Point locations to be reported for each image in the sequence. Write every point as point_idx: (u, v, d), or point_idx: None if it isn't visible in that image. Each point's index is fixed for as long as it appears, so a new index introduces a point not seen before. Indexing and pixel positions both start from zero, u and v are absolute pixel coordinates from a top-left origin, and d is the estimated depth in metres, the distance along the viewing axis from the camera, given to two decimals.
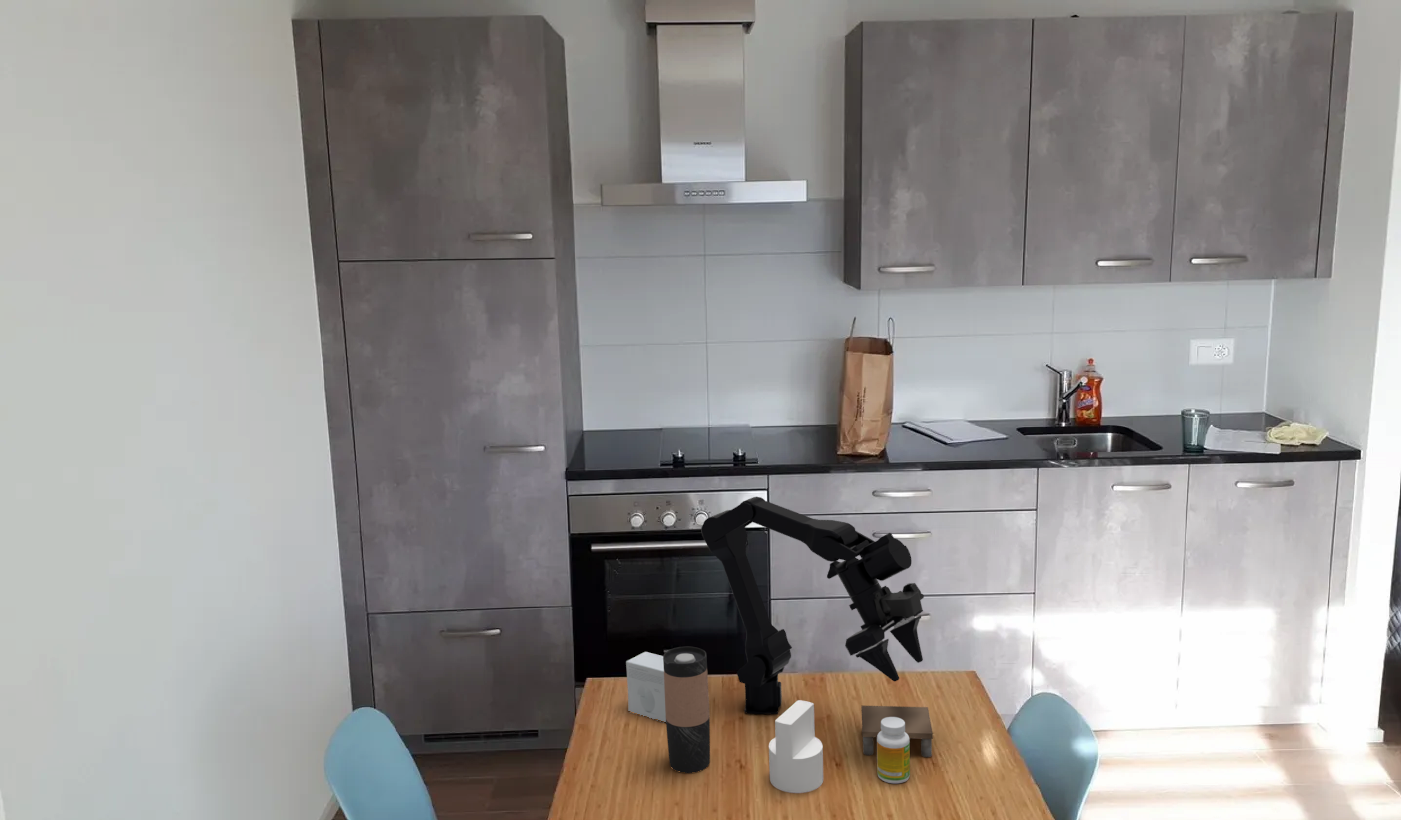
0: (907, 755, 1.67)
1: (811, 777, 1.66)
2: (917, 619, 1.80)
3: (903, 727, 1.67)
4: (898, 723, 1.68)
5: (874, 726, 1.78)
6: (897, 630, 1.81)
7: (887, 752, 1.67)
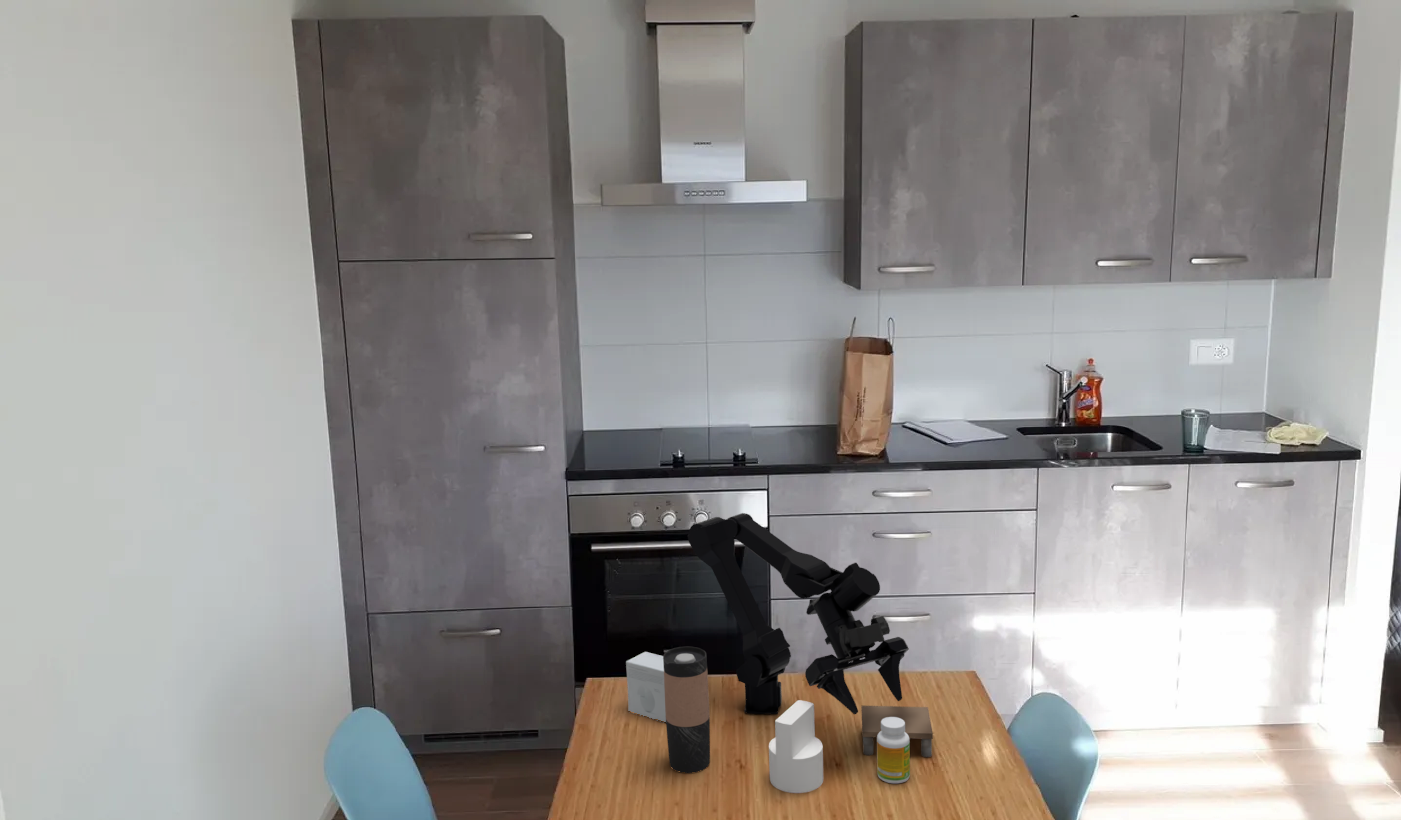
0: (907, 755, 1.67)
1: (811, 777, 1.66)
2: (896, 655, 1.75)
3: (903, 727, 1.67)
4: (898, 723, 1.68)
5: (874, 726, 1.78)
6: (882, 668, 1.78)
7: (887, 752, 1.67)
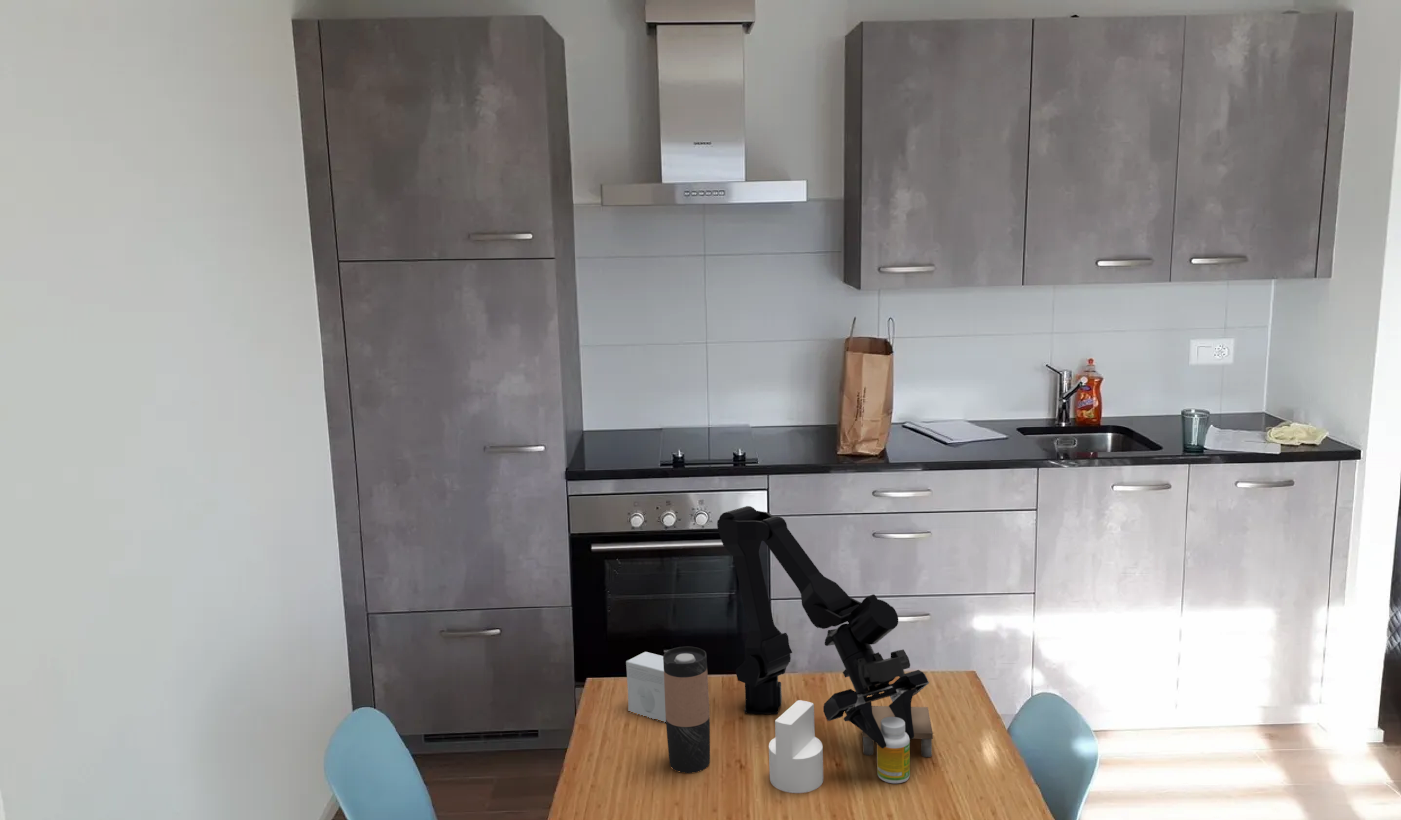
0: (907, 755, 1.67)
1: (811, 777, 1.66)
2: (908, 692, 1.71)
3: (903, 727, 1.67)
4: (898, 723, 1.68)
5: None
6: (893, 704, 1.73)
7: (887, 752, 1.67)
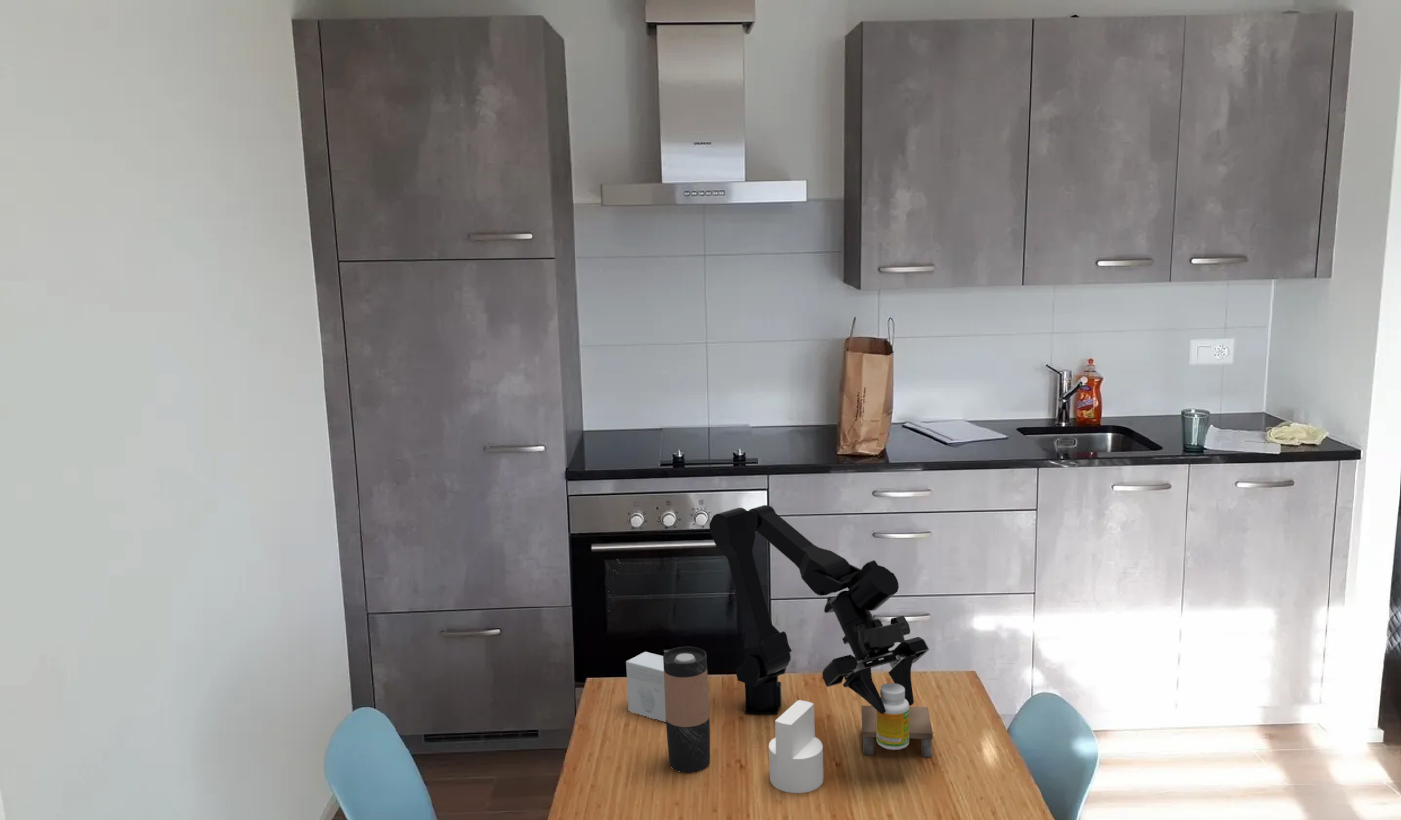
0: (906, 721, 1.66)
1: (811, 777, 1.66)
2: (908, 658, 1.70)
3: (903, 693, 1.66)
4: (898, 689, 1.67)
5: (874, 726, 1.78)
6: (893, 671, 1.72)
7: (886, 718, 1.66)
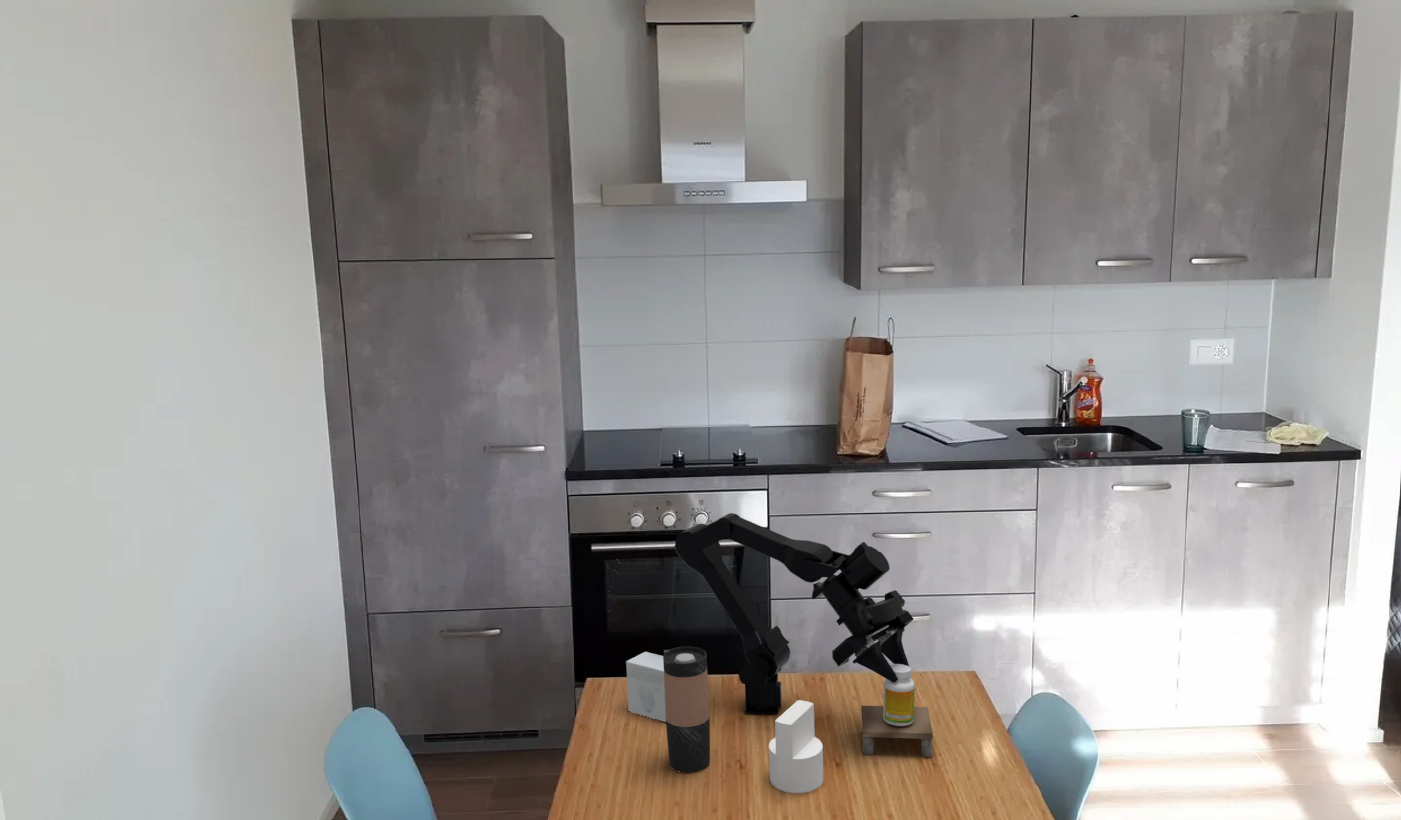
0: None
1: (811, 777, 1.66)
2: (899, 631, 1.81)
3: (910, 671, 1.77)
4: (905, 668, 1.78)
5: (874, 726, 1.78)
6: (883, 646, 1.83)
7: (897, 696, 1.76)
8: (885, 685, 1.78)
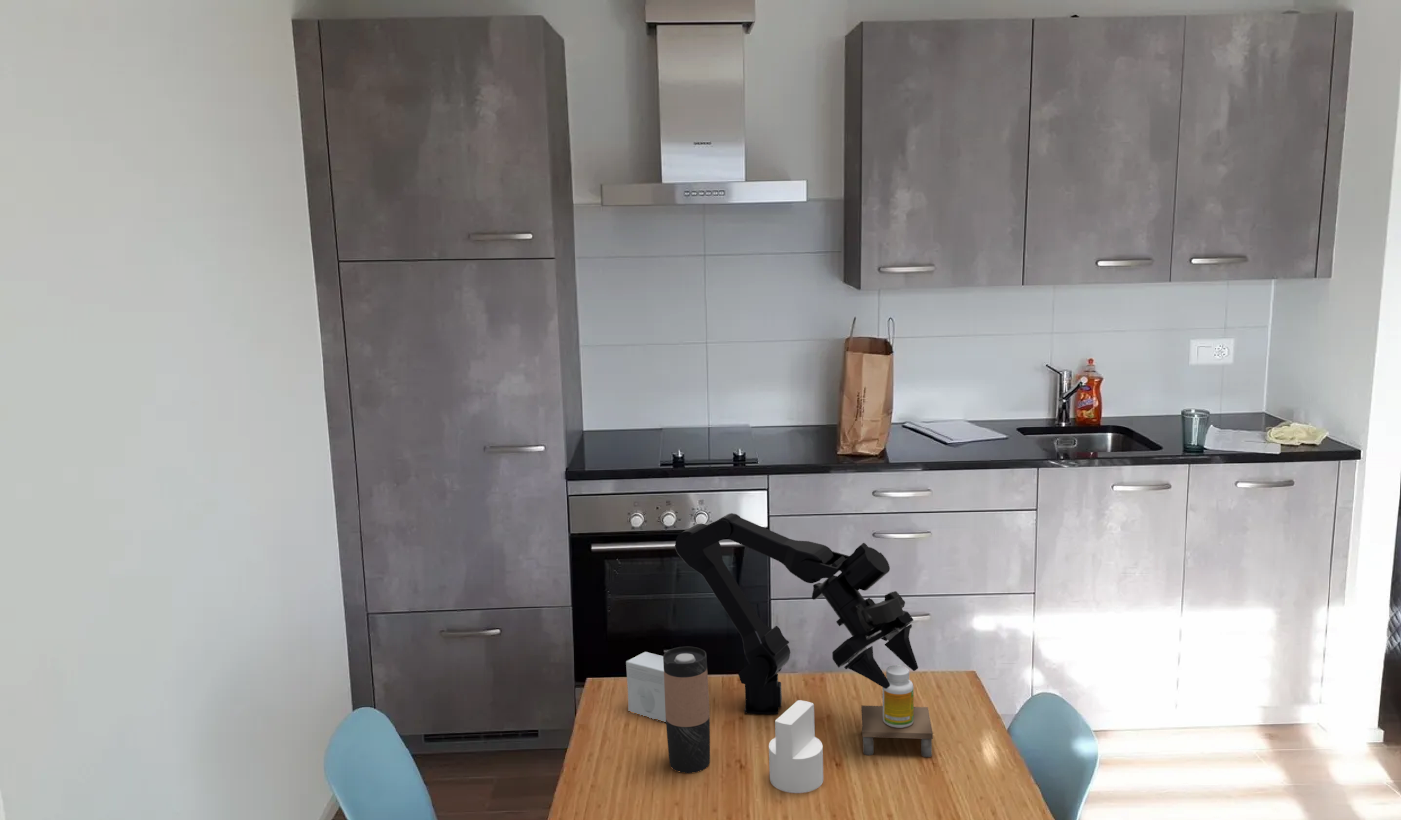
0: None
1: (811, 777, 1.66)
2: (907, 628, 1.83)
3: (908, 673, 1.77)
4: (903, 670, 1.77)
5: (874, 726, 1.78)
6: (891, 642, 1.84)
7: (896, 699, 1.76)
8: None
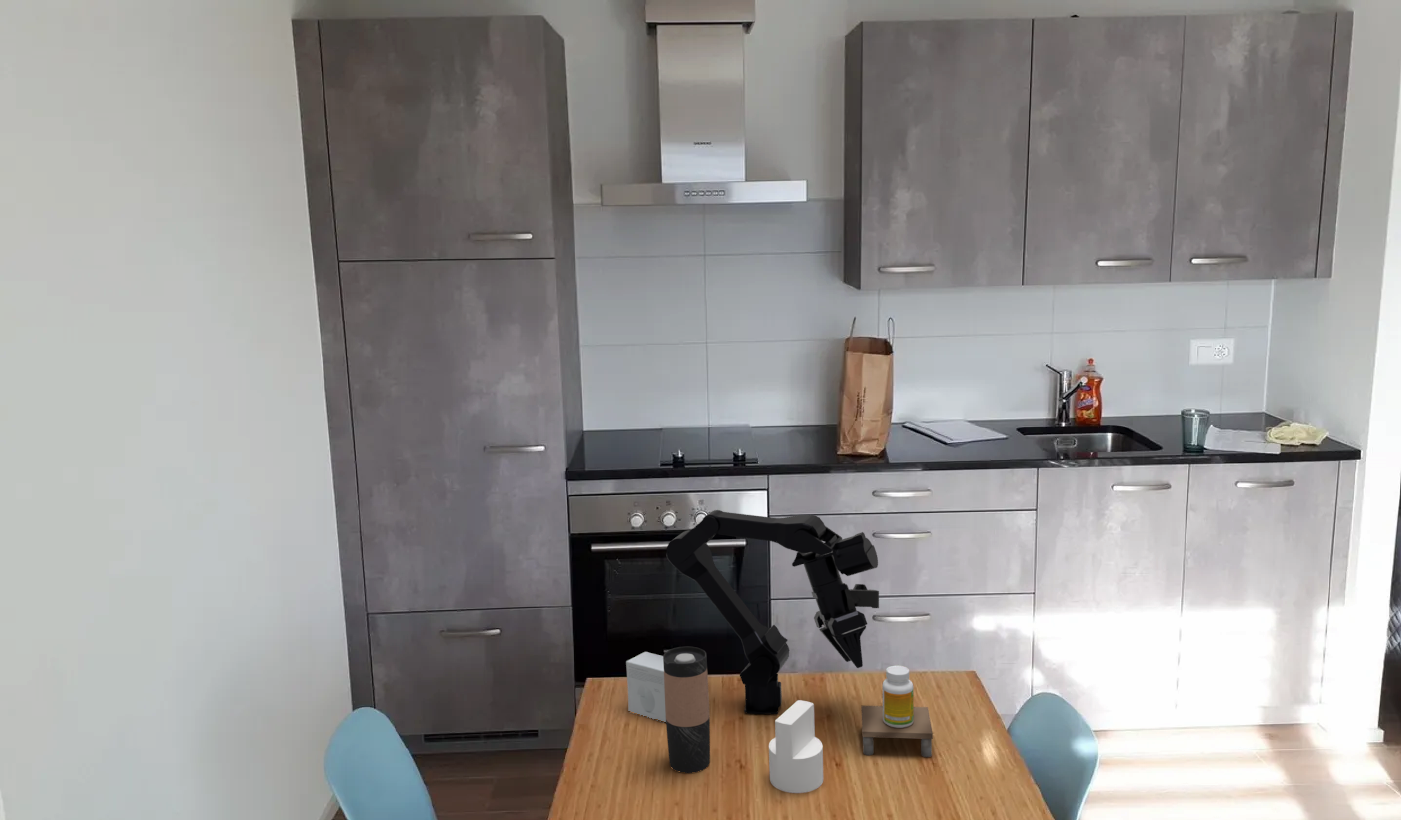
0: None
1: (811, 777, 1.66)
2: None
3: (908, 673, 1.77)
4: (903, 670, 1.77)
5: (874, 726, 1.78)
6: (830, 630, 1.91)
7: (896, 699, 1.76)
8: (884, 687, 1.77)
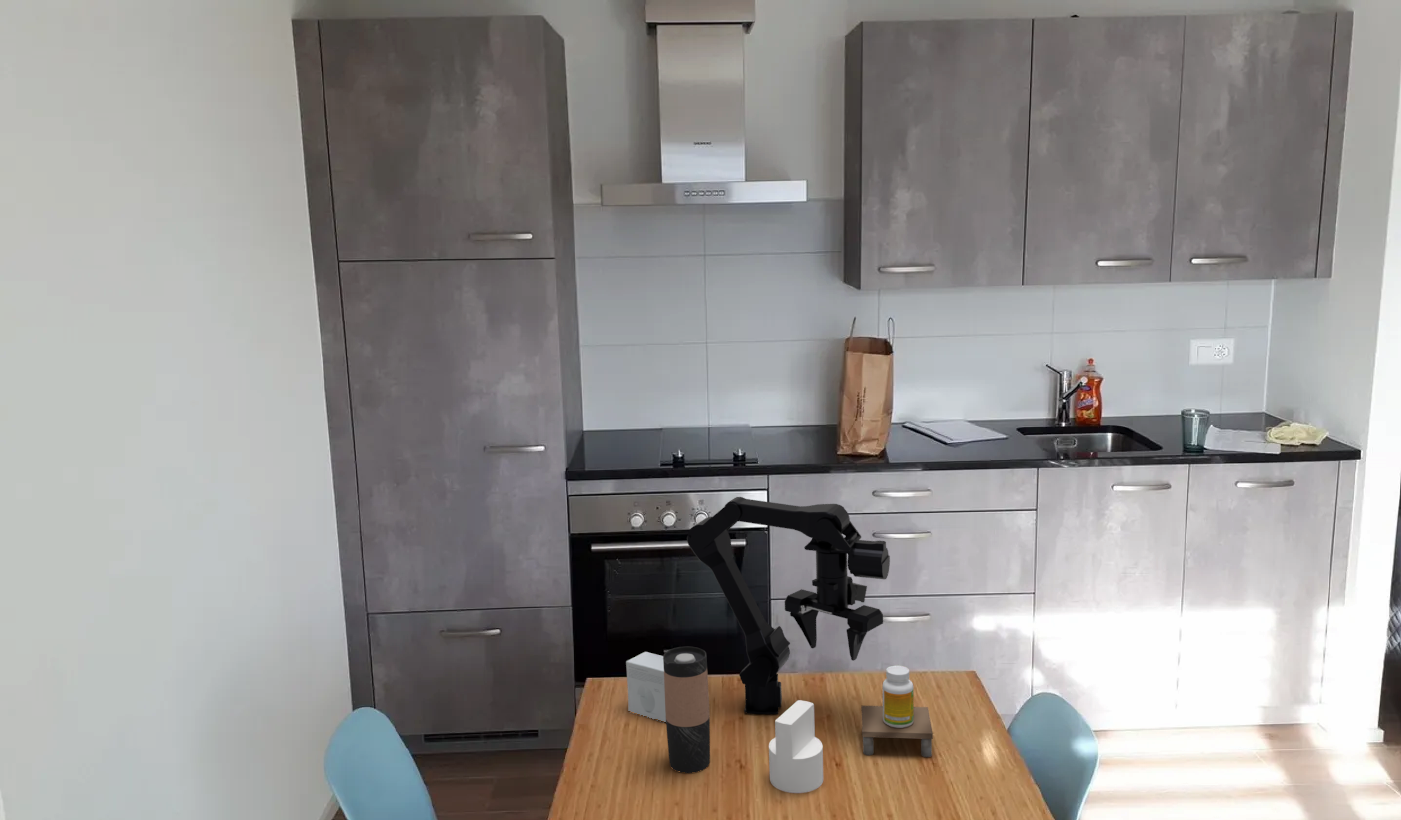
0: None
1: (811, 777, 1.66)
2: None
3: (908, 673, 1.77)
4: (903, 670, 1.77)
5: (874, 726, 1.78)
6: (806, 617, 1.90)
7: (896, 699, 1.76)
8: (884, 687, 1.77)
